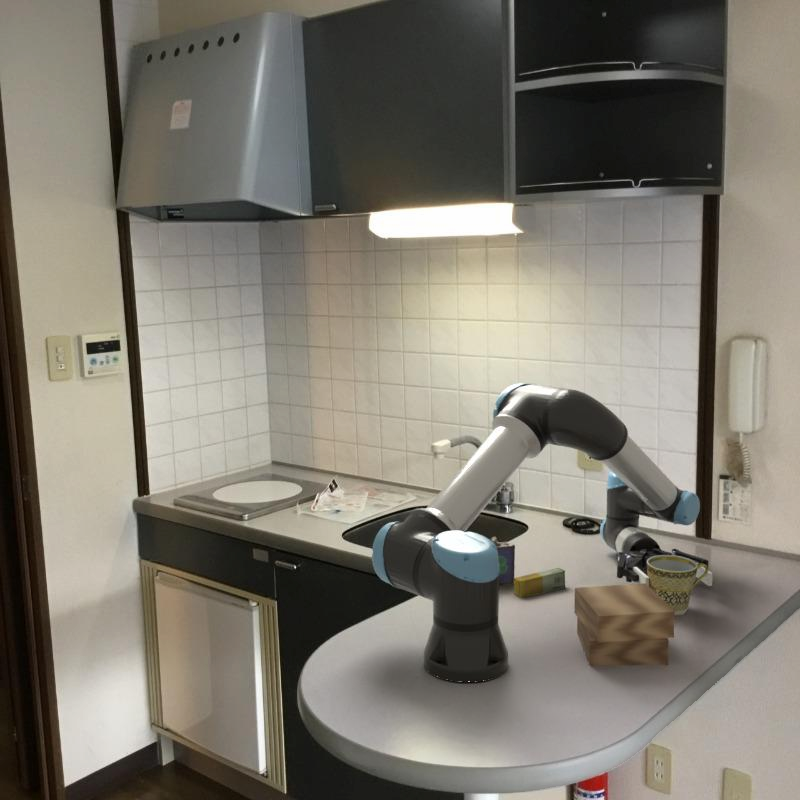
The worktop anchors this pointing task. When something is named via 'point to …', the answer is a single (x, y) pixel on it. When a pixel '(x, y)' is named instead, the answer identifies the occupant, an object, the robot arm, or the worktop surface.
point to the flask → (505, 561)
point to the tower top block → (624, 613)
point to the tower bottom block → (623, 650)
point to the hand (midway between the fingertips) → (679, 581)
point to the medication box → (539, 582)
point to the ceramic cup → (673, 579)
